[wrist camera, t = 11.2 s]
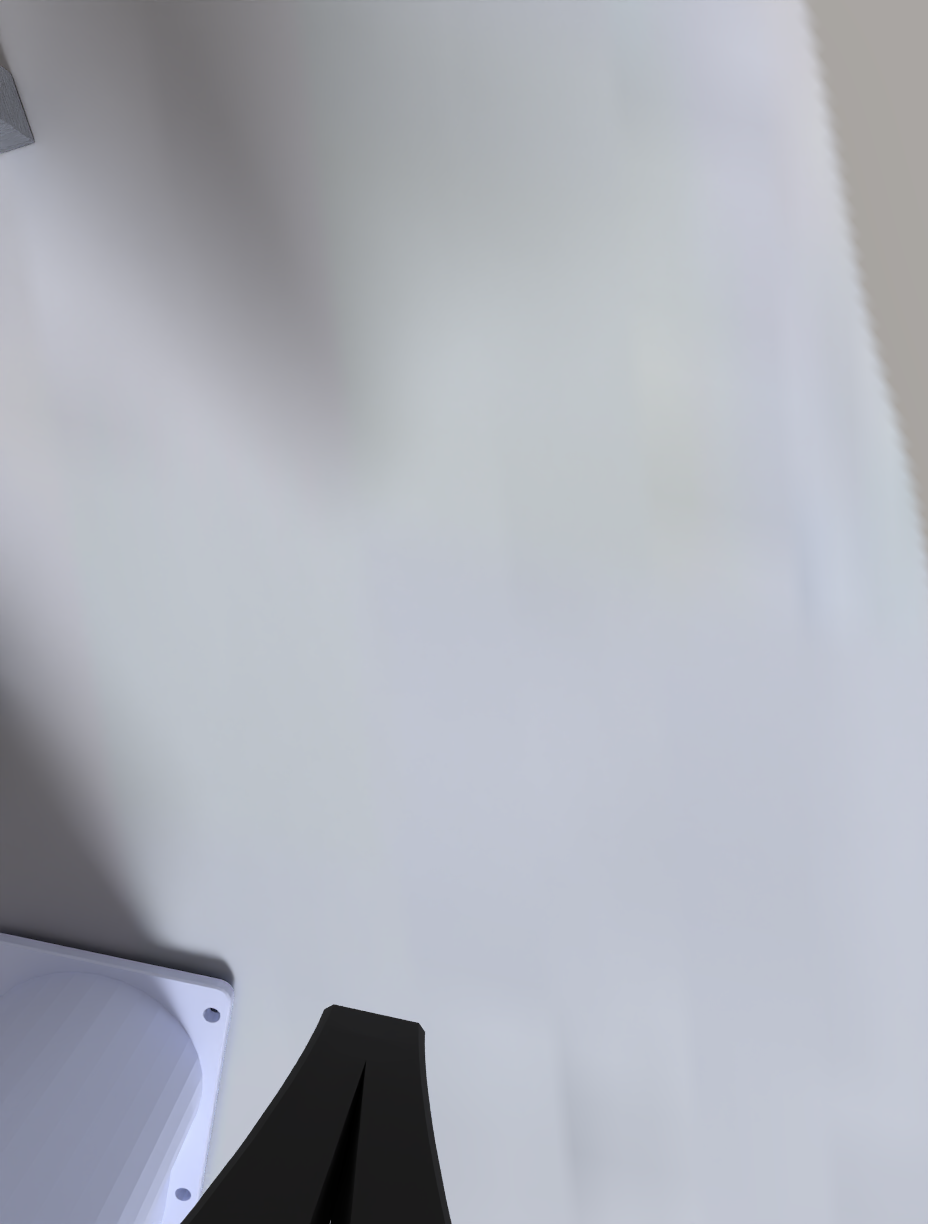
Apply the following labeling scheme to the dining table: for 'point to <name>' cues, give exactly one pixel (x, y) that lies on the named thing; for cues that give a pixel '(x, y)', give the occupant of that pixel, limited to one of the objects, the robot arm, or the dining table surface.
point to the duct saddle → (12, 116)
